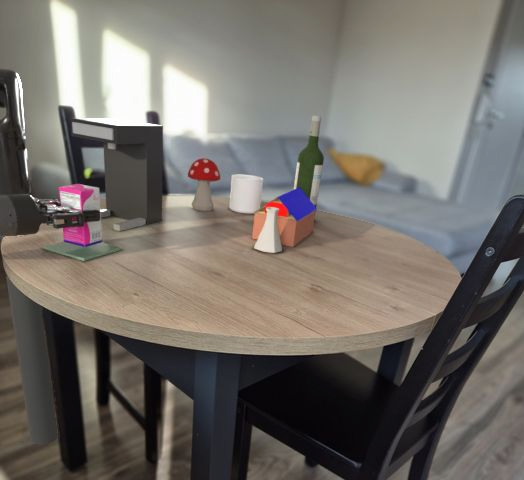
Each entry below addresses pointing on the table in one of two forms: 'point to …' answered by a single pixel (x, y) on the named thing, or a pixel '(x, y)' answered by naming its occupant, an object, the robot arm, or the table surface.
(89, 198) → the supplement box
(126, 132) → the espresso machine
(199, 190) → the decorative mushroom
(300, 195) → the house
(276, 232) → the flask
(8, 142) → the robot arm
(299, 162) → the wine bottle
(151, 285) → the table surface
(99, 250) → the plate
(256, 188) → the mug
